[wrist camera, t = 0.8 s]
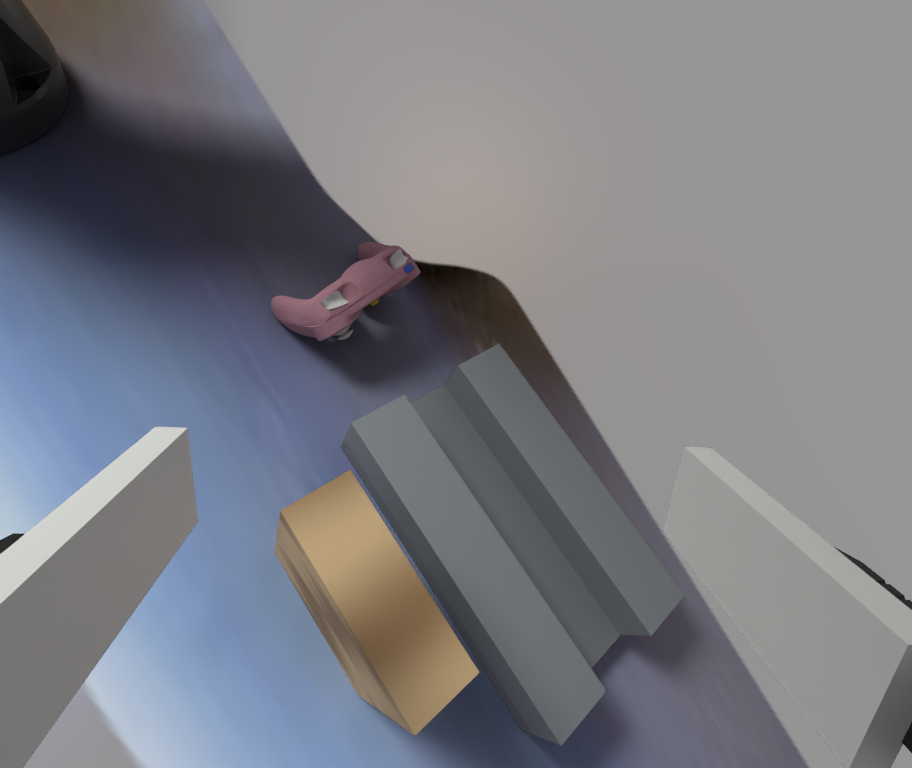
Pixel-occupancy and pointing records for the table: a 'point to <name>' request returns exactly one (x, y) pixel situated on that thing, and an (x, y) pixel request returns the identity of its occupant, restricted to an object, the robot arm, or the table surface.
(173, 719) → the table surface
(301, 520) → the oak plank
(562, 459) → the grooved sill
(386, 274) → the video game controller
